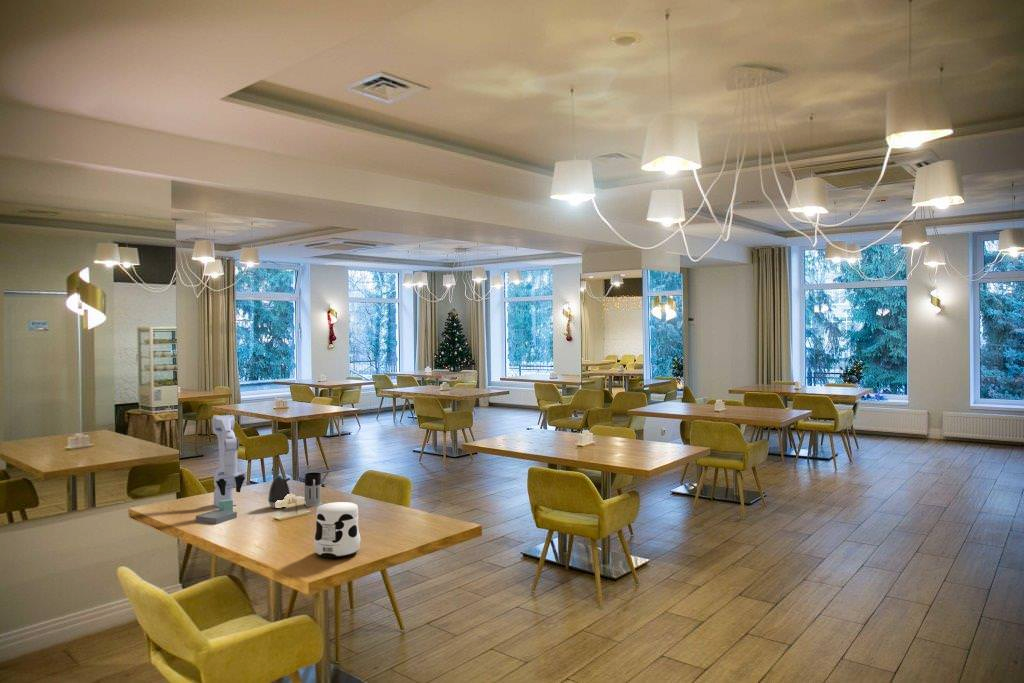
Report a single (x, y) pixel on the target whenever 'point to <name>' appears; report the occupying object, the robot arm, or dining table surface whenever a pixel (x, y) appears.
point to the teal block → (226, 505)
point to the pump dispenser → (278, 490)
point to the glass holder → (313, 489)
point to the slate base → (216, 516)
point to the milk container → (337, 530)
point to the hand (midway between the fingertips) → (230, 493)
